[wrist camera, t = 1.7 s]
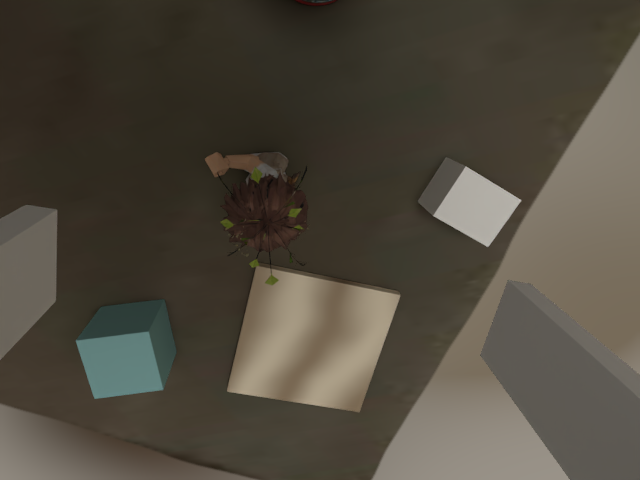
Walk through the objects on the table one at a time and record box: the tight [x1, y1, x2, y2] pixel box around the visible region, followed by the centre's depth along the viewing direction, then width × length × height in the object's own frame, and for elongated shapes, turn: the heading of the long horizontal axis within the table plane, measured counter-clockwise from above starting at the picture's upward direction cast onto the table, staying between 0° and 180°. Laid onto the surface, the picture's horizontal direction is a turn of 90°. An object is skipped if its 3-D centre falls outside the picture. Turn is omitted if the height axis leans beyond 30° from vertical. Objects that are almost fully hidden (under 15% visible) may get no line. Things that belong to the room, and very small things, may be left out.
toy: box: [205, 152, 310, 285], centre depth 27 cm, size 6×6×15 cm
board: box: [227, 262, 401, 412], centre depth 39 cm, size 12×12×1 cm
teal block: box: [76, 299, 177, 399], centre depth 35 cm, size 5×5×5 cm
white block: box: [417, 157, 521, 247], centre depth 34 cm, size 5×4×4 cm
